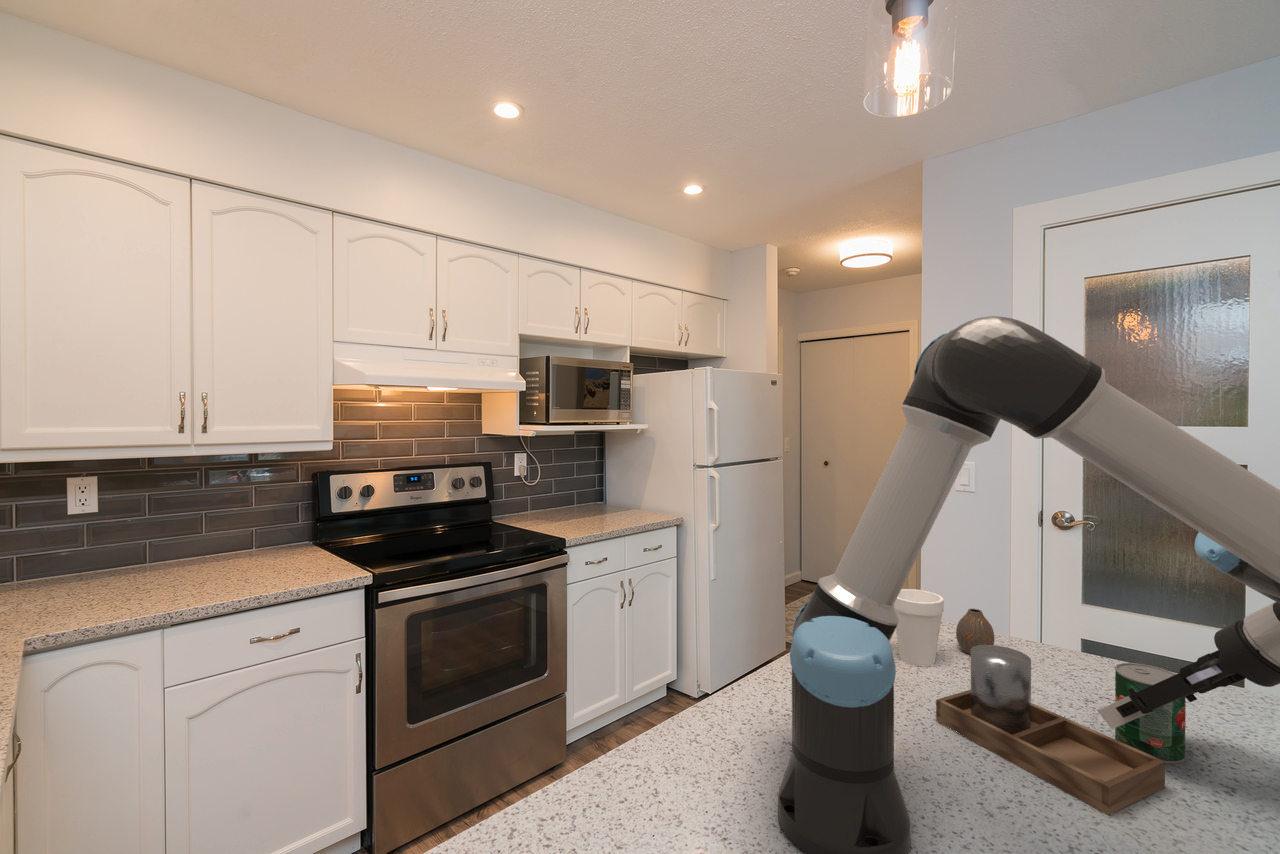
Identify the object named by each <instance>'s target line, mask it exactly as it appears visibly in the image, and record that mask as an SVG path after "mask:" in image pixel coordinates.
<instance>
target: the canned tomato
mask: <svg viewBox="0 0 1280 854" xmlns="http://www.w3.org/2000/svg"><path fill="white" fill-rule="evenodd" d="M1114 670H1115V675H1114V676H1115V679H1114V686H1115V688H1114V689H1115V691H1114V692H1115V693H1114V696H1115V698H1114V701H1115V702H1116V701H1119V700H1121V699H1123V698H1125V697H1127V696H1129V695H1130V693H1129V691H1128V690H1129V689H1131V688H1133V689H1134V691H1135V692H1139V691H1141V690H1143V689H1145V688H1147V687H1150V686H1152V685H1154V684H1156V683H1158V682H1161V681H1163V680H1165V679H1167V678H1169V677H1171V676H1174V675H1176V674H1177V673H1174V672H1172V671H1170V670H1168V669H1165V668H1161V667H1157V666H1154V665H1148V664H1144V663H1135V662H1121V663H1118V664H1116V665H1115V666H1114ZM1186 702H1187V701H1186V696H1184V697H1182V698H1180V699H1177V700H1175V701H1173V702H1170V703H1168V704H1166V705H1163V706H1161V707H1159V708H1156V709H1154V710H1153V711H1152V712H1150V713H1148V714H1146V715H1144V716H1141V717H1139V718H1137V719H1134V720H1132V721H1130V722H1127V723H1125V724H1123V725H1121V726H1118V727H1116V728H1114V729H1115V730H1114V732H1115V733H1114V734H1115V736H1114V739H1115V740H1117V741H1120V742H1122V743H1124V744H1126V745H1129V746H1131V747H1133V748H1136V749H1138V750H1140V751H1142V752H1145V753H1147V754H1149V755H1152V756H1154V757H1156V758H1158V759H1161V760H1163V761H1165V765H1166V764H1167V765H1177V764H1181V763H1183V762H1185V761H1186V758H1187V756H1186V736H1187V735H1186V719H1187V718H1186V709H1187V707H1186Z"/></svg>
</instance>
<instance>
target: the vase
mask: <svg viewBox="0 0 1280 854" xmlns="http://www.w3.org/2000/svg"><path fill="white" fill-rule="evenodd" d="M955 629H956V631H955V636H956V640H957V641H956V642H957V644H958V645H959V647H960V648H961V649H962V651H963V652H964V653H966V654H968V655H970V656H971V648H972V647H974V646H977V645H995V641H996V640H995V633H994V632H995V631H994V629H993V626H992V624H991V623H990V622H989V620H988V619H987V618H986V617H985V615H984V613H983V611H982V610H981V609H978V608H968V610H967V611H966V613H965V614H964V615H963V616H962V618H960V619H959V620H958V622H957V624H956V628H955Z"/></svg>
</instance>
